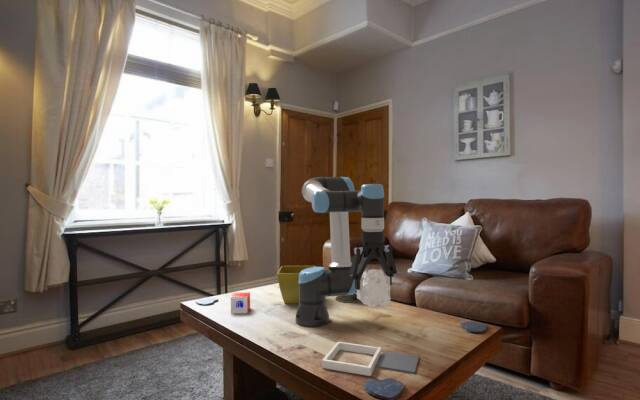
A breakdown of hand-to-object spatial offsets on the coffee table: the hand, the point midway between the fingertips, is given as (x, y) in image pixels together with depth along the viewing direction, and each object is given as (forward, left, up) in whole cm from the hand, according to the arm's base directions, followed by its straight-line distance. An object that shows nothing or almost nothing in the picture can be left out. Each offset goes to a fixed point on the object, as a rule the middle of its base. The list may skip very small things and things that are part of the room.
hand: (373, 297), depth 121 cm
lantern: (-30, +68, -22) cm, 77 cm away
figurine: (0, 0, -3) cm, 3 cm away
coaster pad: (+8, +2, -22) cm, 23 cm away
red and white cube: (-74, +32, -22) cm, 84 cm away
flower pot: (-55, +57, -22) cm, 82 cm away
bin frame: (-7, -2, -22) cm, 23 cm away
